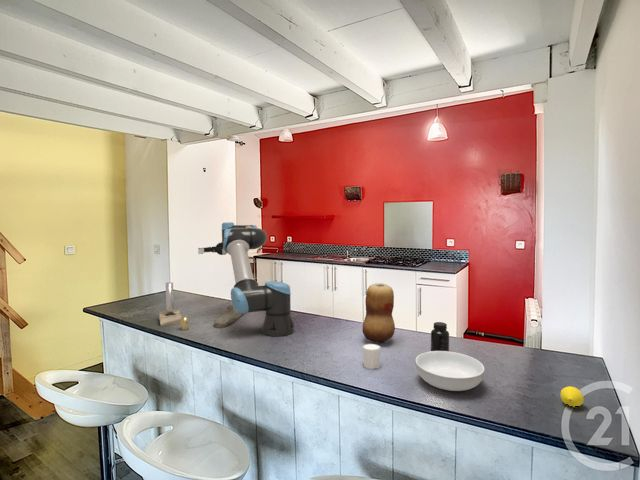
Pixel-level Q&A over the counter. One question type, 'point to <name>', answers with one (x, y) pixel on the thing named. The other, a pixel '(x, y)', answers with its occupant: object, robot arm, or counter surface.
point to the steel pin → (169, 299)
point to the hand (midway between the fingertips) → (210, 251)
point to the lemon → (572, 396)
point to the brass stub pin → (184, 323)
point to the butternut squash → (379, 313)
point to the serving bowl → (449, 370)
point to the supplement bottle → (440, 337)
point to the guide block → (170, 318)
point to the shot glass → (371, 355)
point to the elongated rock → (227, 318)
